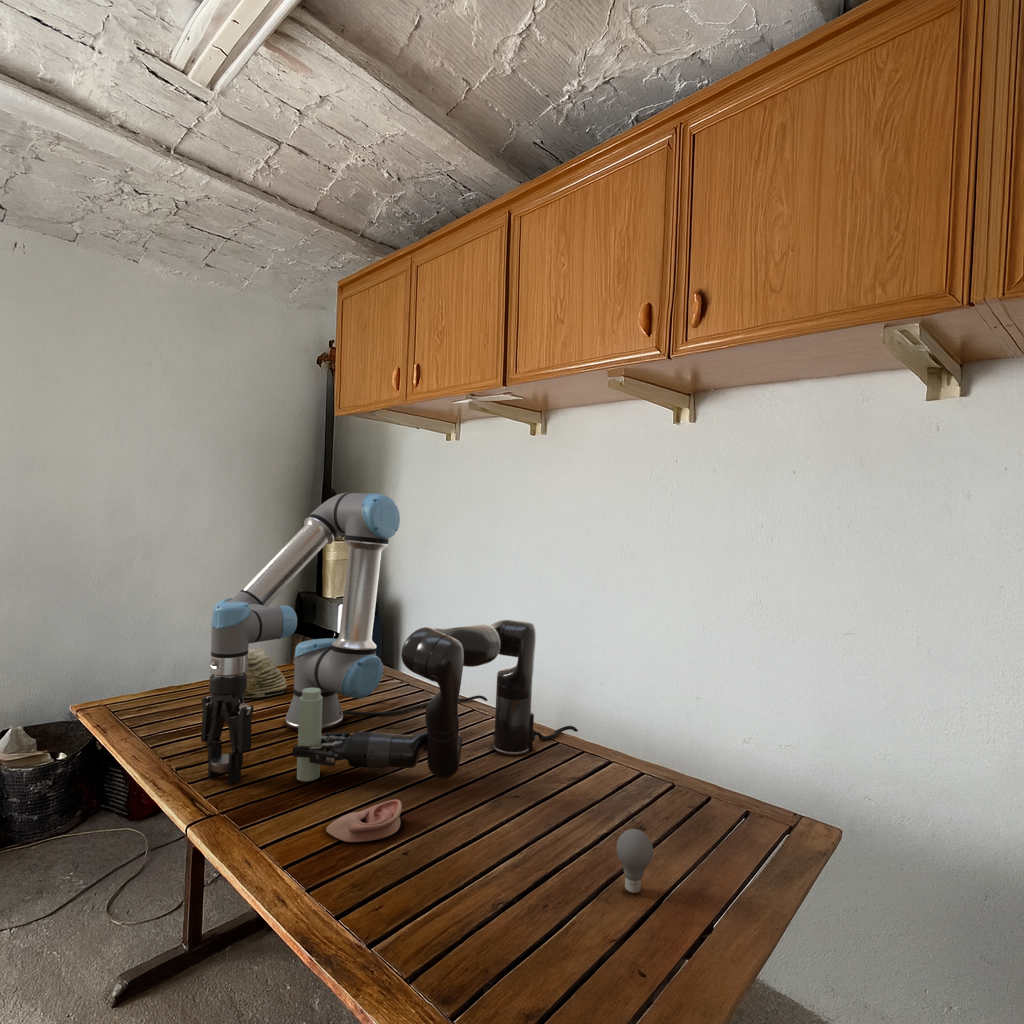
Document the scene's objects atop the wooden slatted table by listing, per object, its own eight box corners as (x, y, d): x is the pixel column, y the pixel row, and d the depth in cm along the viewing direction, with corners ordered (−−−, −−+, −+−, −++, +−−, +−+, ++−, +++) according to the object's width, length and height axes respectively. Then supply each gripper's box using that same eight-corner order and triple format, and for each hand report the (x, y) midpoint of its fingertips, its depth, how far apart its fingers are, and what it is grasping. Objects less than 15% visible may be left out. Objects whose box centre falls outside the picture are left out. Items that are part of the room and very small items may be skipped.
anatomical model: (318, 816, 117) (346, 789, 129) (317, 837, 118) (346, 808, 129) (385, 827, 115) (408, 798, 126) (384, 848, 115) (407, 818, 126)
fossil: (218, 695, 195) (220, 647, 195) (278, 685, 208) (279, 640, 207) (228, 703, 189) (230, 653, 188) (289, 692, 201) (290, 645, 201)
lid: (223, 760, 143) (223, 752, 143) (244, 764, 141) (244, 756, 141) (204, 769, 137) (204, 761, 137) (225, 774, 136) (225, 765, 136)
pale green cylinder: (323, 777, 143) (326, 691, 142) (301, 783, 140) (305, 694, 139) (314, 770, 146) (317, 685, 146) (293, 775, 143) (296, 689, 143)
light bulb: (610, 879, 108) (613, 822, 108) (644, 879, 109) (647, 822, 109) (619, 902, 102) (622, 840, 102) (655, 901, 103) (658, 840, 103)
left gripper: (184, 670, 140) (180, 774, 140) (244, 684, 132) (240, 795, 132) (214, 663, 147) (210, 763, 147) (272, 676, 138) (268, 781, 139)
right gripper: (380, 722, 150) (308, 718, 150) (365, 745, 136) (286, 741, 136) (378, 753, 150) (307, 750, 150) (364, 780, 136) (285, 776, 136)
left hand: (224, 778), depth 139 cm, fingers closed on lid, 5 cm apart
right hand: (297, 746), depth 143 cm, fingers closed on pale green cylinder, 5 cm apart
